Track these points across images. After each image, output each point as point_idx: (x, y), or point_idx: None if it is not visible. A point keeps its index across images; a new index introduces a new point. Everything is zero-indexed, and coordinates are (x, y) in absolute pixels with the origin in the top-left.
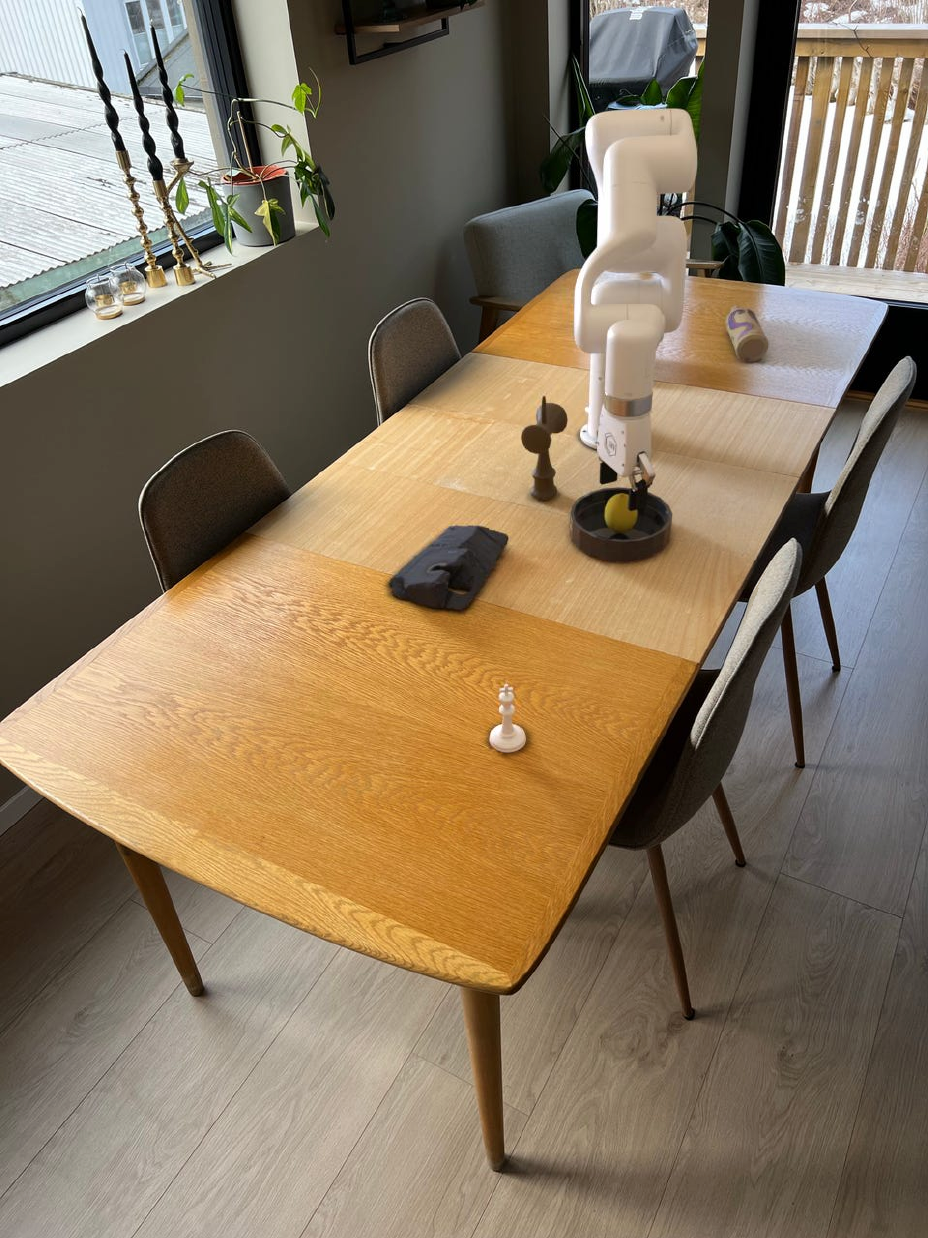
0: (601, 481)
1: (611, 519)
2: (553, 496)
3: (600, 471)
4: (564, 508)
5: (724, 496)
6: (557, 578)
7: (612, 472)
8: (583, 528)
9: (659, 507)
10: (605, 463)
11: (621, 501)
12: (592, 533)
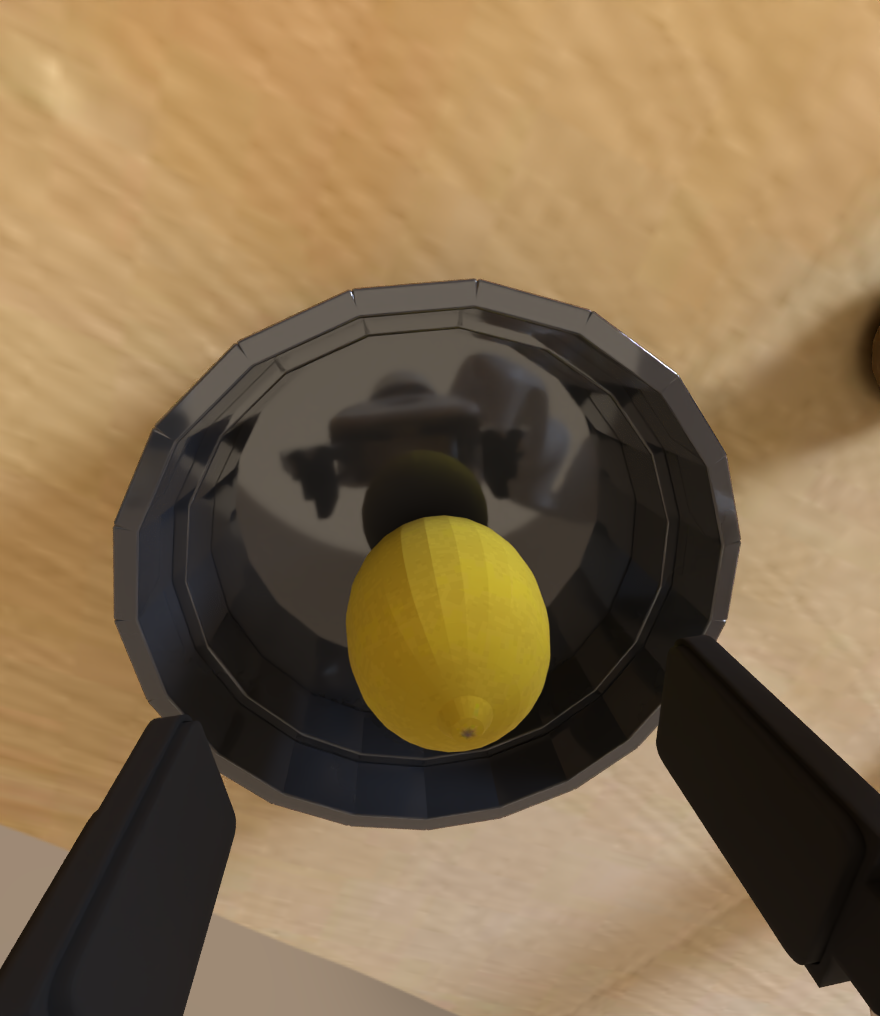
0: (697, 656)
1: (395, 548)
2: (876, 367)
3: (797, 729)
4: (759, 390)
5: (516, 910)
6: (99, 10)
7: (721, 802)
8: (542, 406)
9: (471, 775)
10: (864, 879)
11: (409, 687)
12: (482, 433)
